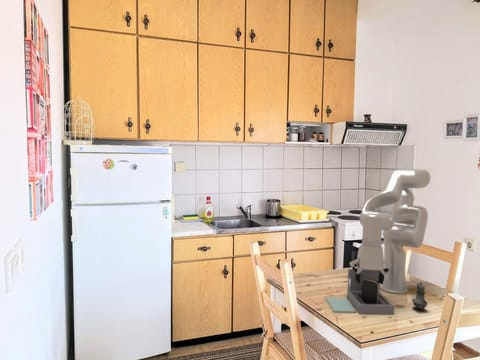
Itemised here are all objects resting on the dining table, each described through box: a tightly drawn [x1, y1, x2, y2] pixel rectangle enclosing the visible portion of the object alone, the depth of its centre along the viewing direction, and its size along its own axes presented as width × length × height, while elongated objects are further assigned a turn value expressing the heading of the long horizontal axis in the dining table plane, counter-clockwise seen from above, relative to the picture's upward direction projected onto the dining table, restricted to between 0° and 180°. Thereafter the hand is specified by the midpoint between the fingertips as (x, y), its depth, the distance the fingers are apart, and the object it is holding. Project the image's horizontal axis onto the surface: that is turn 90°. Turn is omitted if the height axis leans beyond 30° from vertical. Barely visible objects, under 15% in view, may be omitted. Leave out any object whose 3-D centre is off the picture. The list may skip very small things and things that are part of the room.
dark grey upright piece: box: [411, 281, 429, 314], centre depth 147 cm, size 6×6×12 cm
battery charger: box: [361, 279, 381, 304], centre depth 151 cm, size 7×4×11 cm, turn 53°
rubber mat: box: [325, 297, 357, 314], centre depth 151 cm, size 9×14×1 cm, turn 0°
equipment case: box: [346, 268, 395, 315], centre depth 151 cm, size 14×16×14 cm
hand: (369, 282), depth 150 cm, fingers open, 9 cm apart
